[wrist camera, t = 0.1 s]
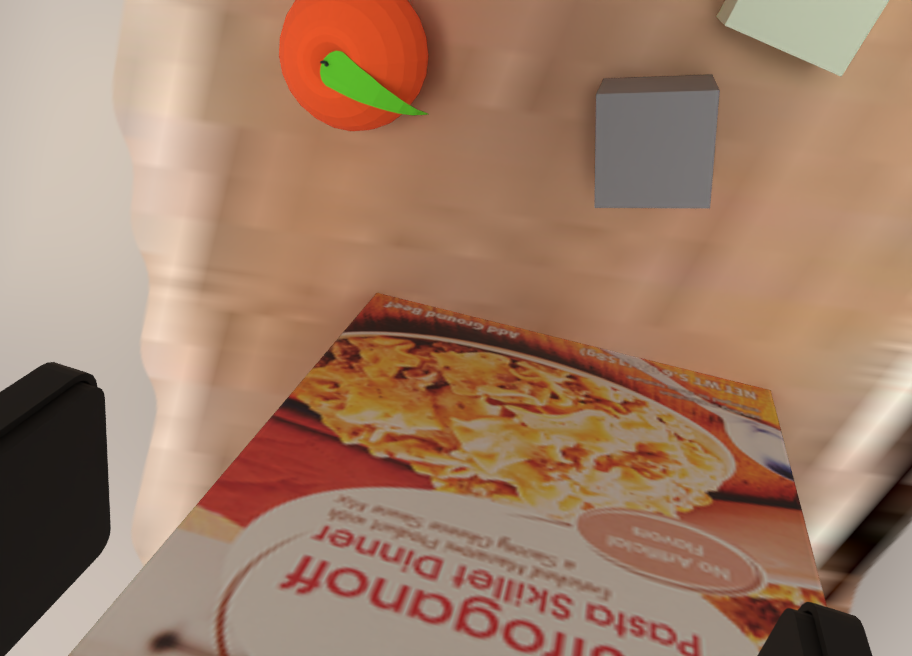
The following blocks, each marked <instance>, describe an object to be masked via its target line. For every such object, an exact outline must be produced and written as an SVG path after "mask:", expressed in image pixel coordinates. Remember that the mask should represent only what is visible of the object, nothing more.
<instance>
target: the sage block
mask: <svg viewBox="0 0 912 656" xmlns="http://www.w3.org/2000/svg"><path fill="white" fill-rule="evenodd" d="M888 1H889V0H725V1H724V3H723V5H722V7H721V9H720V11H719V13H718V14H717V16H716V17H717V18H718V19H719V20H720V21H721V22H722V23H723V24H724V25H725V26H727V27H729V28H732V29H734V30H736V31H739V32H741V33H743V34H745V35H748V36H750V37H752V38H754V39H757V40H759V41H761V42H764V43H766V44H768V45H770V46H773V47H775V48H777V49H780V50H782V51H784V52H786V53H789V54H791V55H793V56H795V57H798V58H800V59H802V60H805V61H807V62H809V63H811V64H814V65H816V66H818V67H820V68H823V69H825V70H827V71H830V72H832V73H834V74H836V75H839V76H842V75H843V73H844V72H845V70H846V69H847V67H848V65H849V64H850V62H851V61H852V59H853V57H854V56H855V54H856V53H857V51H858V49H859V48H860V46H861V45H862V43H863V41H864V40H865V38H866V37H867V35H868V33H869V32H870V30H871V29H872V27H873V25H874V24H875V22H876V21H877V19H878V17H879V16H880V14H881V13H882V11H883V9H884V8H885V6H886V5H887V3H888Z"/></svg>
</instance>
